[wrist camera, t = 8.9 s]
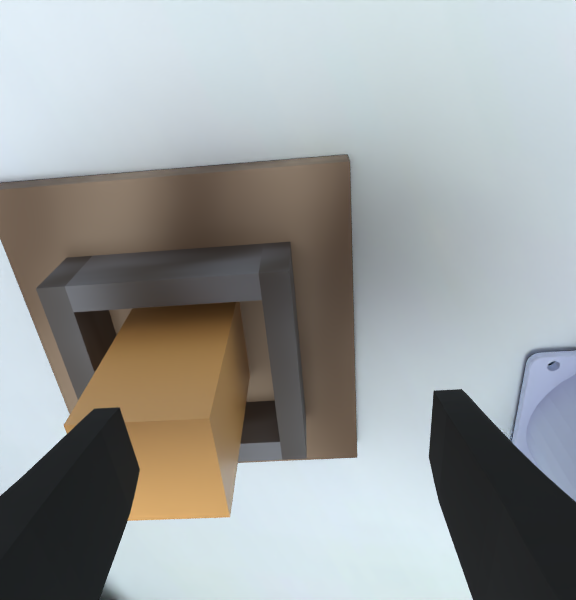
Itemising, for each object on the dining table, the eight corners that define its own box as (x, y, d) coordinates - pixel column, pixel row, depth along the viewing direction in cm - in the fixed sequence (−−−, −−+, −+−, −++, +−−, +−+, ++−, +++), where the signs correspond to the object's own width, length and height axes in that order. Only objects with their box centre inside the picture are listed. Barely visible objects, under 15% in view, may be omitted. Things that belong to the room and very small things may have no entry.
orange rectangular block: (238, 293, 19) (209, 418, 13) (250, 375, 21) (229, 516, 15) (137, 299, 19) (63, 425, 13) (158, 379, 21) (102, 521, 15)
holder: (347, 154, 18) (357, 181, 14) (355, 441, 24) (363, 501, 21) (-4, 183, 18) (-65, 214, 15) (98, 453, 25) (70, 513, 22)
